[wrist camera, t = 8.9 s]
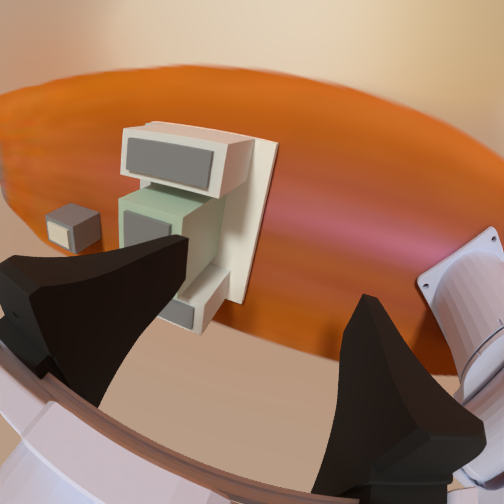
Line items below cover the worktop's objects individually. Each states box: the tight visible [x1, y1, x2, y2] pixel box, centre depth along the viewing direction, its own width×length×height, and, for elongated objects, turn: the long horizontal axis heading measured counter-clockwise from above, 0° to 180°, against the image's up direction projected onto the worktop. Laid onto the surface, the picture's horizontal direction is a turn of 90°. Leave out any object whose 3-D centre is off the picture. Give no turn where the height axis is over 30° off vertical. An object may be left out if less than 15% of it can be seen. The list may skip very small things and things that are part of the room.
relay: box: [45, 203, 101, 254], centre depth 25 cm, size 5×3×4 cm, turn 79°
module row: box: [120, 121, 279, 335], centre depth 20 cm, size 10×14×6 cm
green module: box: [119, 183, 227, 299], centre depth 19 cm, size 4×6×7 cm
